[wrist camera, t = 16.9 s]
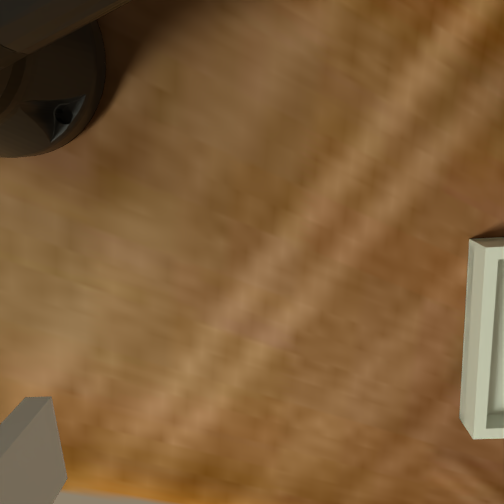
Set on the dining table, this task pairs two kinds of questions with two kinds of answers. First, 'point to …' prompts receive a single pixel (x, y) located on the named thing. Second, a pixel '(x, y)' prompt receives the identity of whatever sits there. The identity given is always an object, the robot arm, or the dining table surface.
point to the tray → (484, 341)
